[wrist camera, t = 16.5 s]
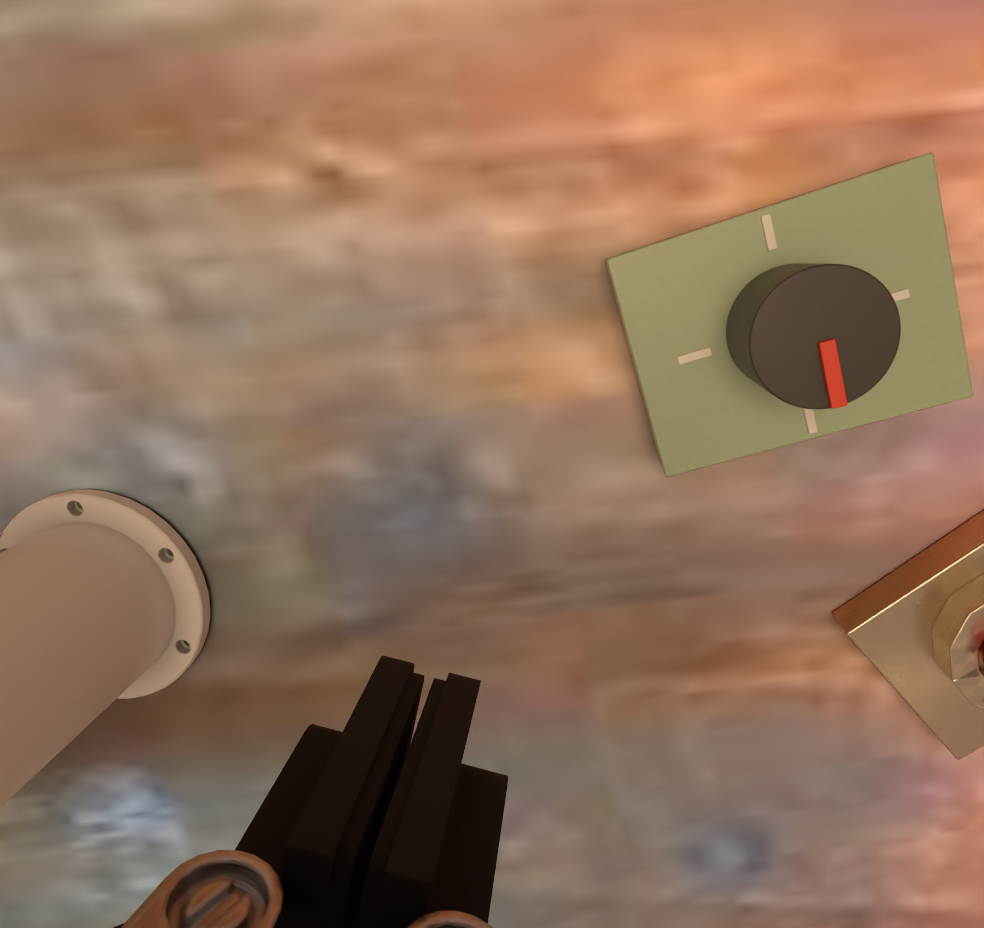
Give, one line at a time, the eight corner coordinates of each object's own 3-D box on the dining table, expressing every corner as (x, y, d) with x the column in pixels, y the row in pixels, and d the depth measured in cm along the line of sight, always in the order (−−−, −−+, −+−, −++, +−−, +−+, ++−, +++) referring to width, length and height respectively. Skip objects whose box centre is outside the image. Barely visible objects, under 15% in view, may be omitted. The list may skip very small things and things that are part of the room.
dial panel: (659, 460, 35) (666, 478, 32) (604, 259, 33) (606, 259, 30) (940, 384, 33) (976, 396, 30) (901, 161, 31) (936, 150, 28)
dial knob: (713, 284, 30) (737, 289, 25) (843, 246, 29) (892, 243, 24) (740, 403, 31) (767, 427, 27) (865, 369, 30) (916, 389, 26)
